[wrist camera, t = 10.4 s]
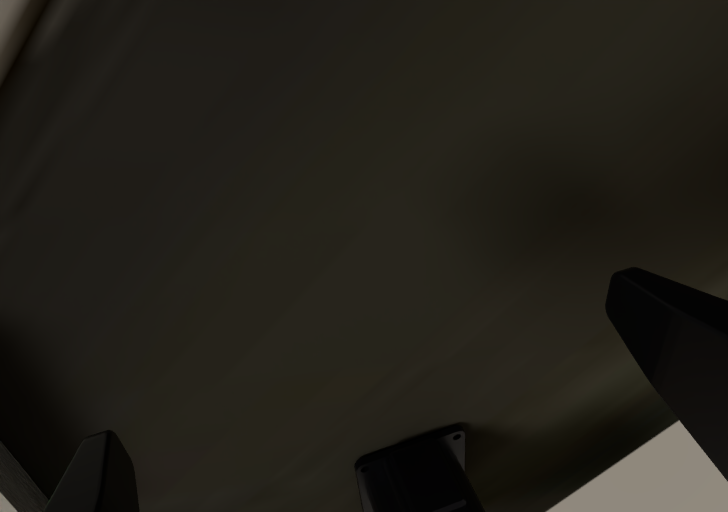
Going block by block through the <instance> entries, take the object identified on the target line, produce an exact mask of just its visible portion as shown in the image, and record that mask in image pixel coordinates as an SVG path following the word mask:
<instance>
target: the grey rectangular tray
mask: <svg viewBox="0 0 728 512" xmlns="http://www.w3.org/2000/svg"><path fill="white" fill-rule="evenodd" d="M48 502H49V500H48V499H47V497H46V496H45V495H44V494H43V492H42V491H41V490H40V489H39V487H38V486H37V485H36V484H35V482H34V481H33V480H32V479H31V478H30V476H29V475H28V474H27V473H26V471H25V470H24V469H23V468H22V466H21V465H20V464H19V463H18V461H17V460H16V459H15V458H14V457H13V455H12V454H11V453H10V452H9V450H8V449H7V448H6V447H5V445H4V444H3V443H2V442H1V441H0V512H43V511H44V509H45V507H46V505H47V504H48Z"/></svg>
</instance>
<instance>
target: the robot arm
mask: <svg viewBox="0 0 728 512" xmlns="http://www.w3.org/2000/svg"><path fill="white" fill-rule="evenodd" d="M605 308H606V313H607V315H608V317H609V319H610V321H611V322H612V324H613V325H614V327H615V329H616V330H617V332H618V333H619V335H620V336H621V338H622V340H623V341H624V343H625V344H626V346H627V348H628V349H629V351H630V352H631V354H632V355H633V357H634V359H635V360H636V362H637V363H638V365H639V366H640V368H641V370H642V371H643V373H644V374H645V376H646V377H647V379H648V380H649V382H650V383H651V384H652V386H653V387H654V388H655V390H656V391H657V392H658V394H659V395H660V396H661V398H662V399H663V400H664V401H665V403H666V404H667V405H668V406H669V408H670V409H671V410H672V411H673V413H674V414H675V415H676V417H677V418H678V419H679V420H680V422H681V423H682V424H683V425H684V427H685V428H686V429H687V430H688V431H689V433H690V434H691V436H692V437H693V438H694V439H695V441H696V442H697V443H698V444H699V446H700V447H701V448H702V449H703V451H704V452H705V453H706V455H707V456H708V457H709V458H710V459H711V461H712V462H713V463H714V465H715V466H716V467H717V468H718V470H719V471H720V472H721V473H722V475H723V476H724V477H725V479H726V480H727V481H728V301H727V300H724V299H721V298H718V297H716V296H713V295H710V294H708V293H705V292H702V291H699V290H697V289H694V288H691V287H689V286H686V285H683V284H680V283H678V282H675V281H672V280H670V279H667V278H664V277H661V276H659V275H656V274H653V273H651V272H648V271H645V270H643V269H640V268H636V267H631V268H627V269H624V270H621V271H618V272H615V273H614V274H613V275H612V277H611V280H610V285H609V289H608V294H607V299H606V304H605ZM354 467H355V472H356V477H357V483H358V488H359V493H360V498H361V504H362V509H363V512H485V510H484V508H483V507H482V505H481V503H480V501H479V499H478V497H477V495H476V493H475V491H474V489H473V487H472V485H471V484H470V482H469V480H468V478H467V476H466V474H465V472H464V470H465V433H464V431H463V429H462V427H461V426H453V427H450V428H447V429H444V430H442V431H439V432H436V433H433V434H430V435H427V436H424V437H421V438H419V439H416V440H413V441H410V442H407V443H404V444H401V445H399V446H396V447H393V448H390V449H387V450H384V451H381V452H378V453H376V454H373V455H370V456H367V457H364V458H361V459H359V460H358V461H357V462H356V463H355V466H354ZM43 512H139V504H138V495H137V487H136V479H135V472H134V467H133V463H132V461H131V458H130V457H129V455H128V453H127V452H126V450H125V448H124V447H123V445H122V443H121V441H120V440H119V438H118V436H117V435H116V433H115V432H113V431H112V430H107V431H104V432H100V433H97V434H94V435H91V436H88V437H86V438H85V439H84V440H83V441H82V443H81V444H80V446H79V448H78V450H77V451H76V453H75V455H74V457H73V459H72V460H71V462H70V464H69V466H68V468H67V469H66V471H65V473H64V475H63V477H62V478H61V480H60V482H59V484H58V486H57V487H56V489H55V491H54V493H53V495H52V496H51V498H50V500H49V502H48V504H47V505H46V507H45V509H44V511H43Z"/></svg>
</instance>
